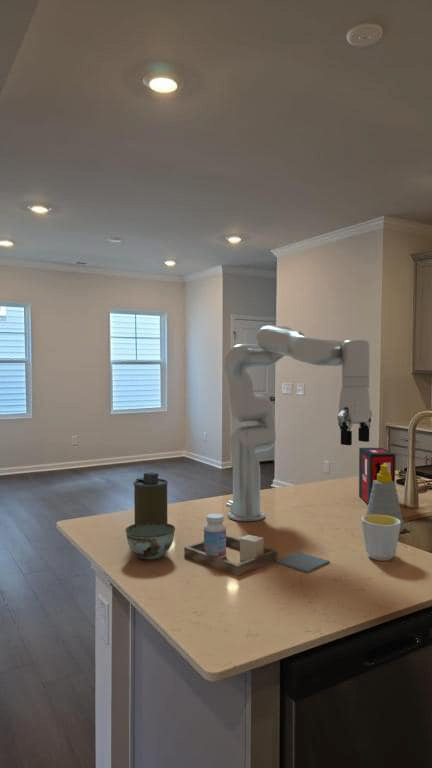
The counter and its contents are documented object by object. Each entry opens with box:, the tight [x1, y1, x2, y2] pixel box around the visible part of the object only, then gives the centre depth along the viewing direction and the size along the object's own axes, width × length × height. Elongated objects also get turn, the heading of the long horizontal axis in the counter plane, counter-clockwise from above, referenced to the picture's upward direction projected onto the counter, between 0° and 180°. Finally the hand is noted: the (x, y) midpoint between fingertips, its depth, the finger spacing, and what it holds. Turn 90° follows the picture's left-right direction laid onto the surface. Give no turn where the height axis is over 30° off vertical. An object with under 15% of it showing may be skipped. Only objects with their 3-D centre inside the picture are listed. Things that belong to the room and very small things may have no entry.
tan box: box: [239, 534, 264, 562], centre depth 143 cm, size 5×4×6 cm
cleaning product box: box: [358, 447, 396, 506], centre depth 204 cm, size 16×9×20 cm, turn 179°
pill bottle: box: [203, 513, 227, 559], centre depth 146 cm, size 6×6×11 cm
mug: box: [361, 514, 401, 562], centre depth 147 cm, size 14×10×10 cm
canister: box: [132, 471, 169, 524], centre depth 162 cm, size 11×10×20 cm
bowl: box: [124, 522, 176, 562], centre depth 146 cm, size 14×13×8 cm
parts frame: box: [183, 534, 279, 577], centre depth 145 cm, size 20×16×2 cm
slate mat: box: [275, 551, 330, 574], centre depth 141 cm, size 10×10×1 cm
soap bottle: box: [366, 463, 405, 533], centre depth 172 cm, size 12×12×20 cm
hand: (355, 443), depth 152 cm, fingers open, 9 cm apart
